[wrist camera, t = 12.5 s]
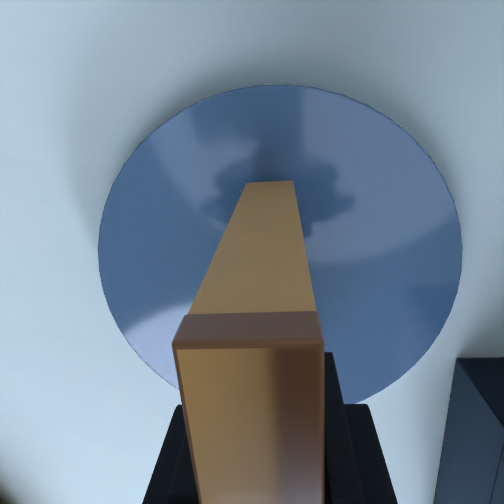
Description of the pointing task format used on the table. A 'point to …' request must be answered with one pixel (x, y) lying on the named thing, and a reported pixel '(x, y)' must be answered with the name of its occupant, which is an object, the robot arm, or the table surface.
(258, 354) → the toast
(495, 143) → the table surface
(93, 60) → the table surface
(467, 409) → the toaster
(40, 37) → the table surface
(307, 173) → the plate
